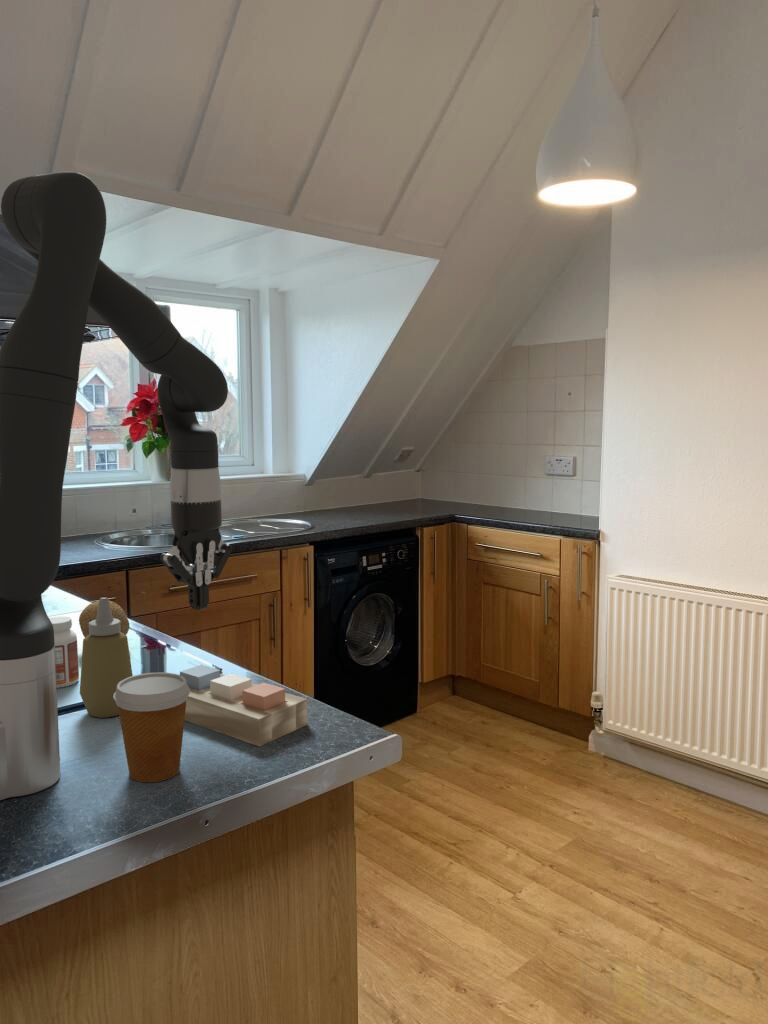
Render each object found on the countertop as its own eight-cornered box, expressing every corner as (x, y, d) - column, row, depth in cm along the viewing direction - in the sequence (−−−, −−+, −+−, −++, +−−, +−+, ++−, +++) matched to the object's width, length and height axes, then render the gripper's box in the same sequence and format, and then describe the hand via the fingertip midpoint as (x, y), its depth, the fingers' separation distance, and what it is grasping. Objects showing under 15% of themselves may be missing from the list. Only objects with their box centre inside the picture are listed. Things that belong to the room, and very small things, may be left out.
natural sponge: (120, 641, 166) (118, 592, 165) (137, 651, 159) (135, 601, 158) (74, 649, 161) (72, 598, 160) (89, 660, 154) (87, 608, 153)
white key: (230, 708, 123) (230, 686, 122) (210, 702, 125) (210, 680, 125) (252, 700, 126) (251, 679, 126) (232, 694, 129) (231, 673, 129)
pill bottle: (68, 674, 146) (66, 613, 144) (85, 682, 142) (83, 619, 140) (33, 683, 141) (30, 619, 140) (50, 691, 137) (47, 626, 136)
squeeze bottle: (77, 707, 130) (72, 595, 128) (129, 699, 134) (126, 590, 131) (84, 725, 123) (79, 607, 121) (139, 716, 127) (136, 601, 124)
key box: (259, 746, 116) (258, 719, 115) (158, 711, 129) (158, 686, 128) (307, 724, 124) (307, 699, 123) (208, 693, 137) (207, 670, 136)
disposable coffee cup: (149, 796, 101) (146, 701, 99) (100, 775, 106) (97, 685, 105) (207, 768, 109) (205, 680, 107) (159, 750, 114) (156, 666, 113)
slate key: (199, 698, 127) (198, 677, 127) (180, 692, 130) (179, 671, 129) (220, 690, 131) (220, 669, 130) (202, 685, 133) (201, 664, 133)
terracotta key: (264, 719, 119) (263, 696, 118) (242, 712, 121) (242, 690, 121) (285, 710, 122) (285, 688, 122) (264, 704, 125) (263, 682, 124)
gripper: (177, 503, 119) (181, 621, 121) (245, 495, 129) (247, 603, 131) (144, 499, 123) (148, 613, 125) (212, 492, 133) (215, 596, 136)
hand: (199, 608), depth 128 cm, fingers closed
